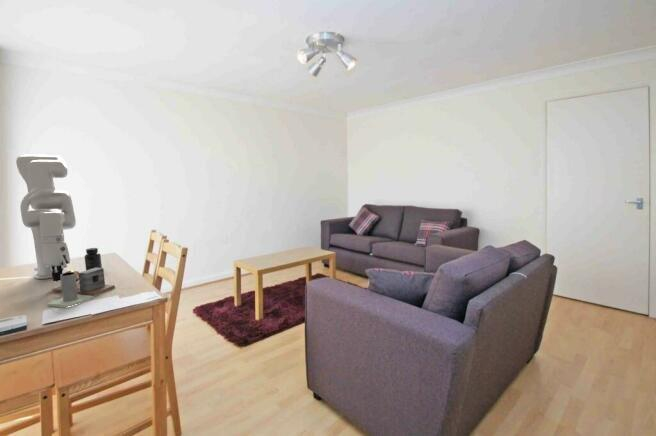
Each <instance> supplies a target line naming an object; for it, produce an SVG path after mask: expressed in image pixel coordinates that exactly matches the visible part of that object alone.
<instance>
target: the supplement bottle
mask: <svg viewBox="0 0 656 436" xmlns="http://www.w3.org/2000/svg"><path fill="white" fill-rule="evenodd" d="M83 259H84V264H85V265H84V266H85V271H86V270H90V269H93V268H103V266H102V265H103V264H102V256H101V253H99V250H98V247H90V248H86V249H85V255H84V258H83Z"/></svg>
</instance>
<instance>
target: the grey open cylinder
mask: <svg viewBox="0 0 656 436" xmlns="http://www.w3.org/2000/svg"><path fill="white" fill-rule="evenodd" d="M60 279H61V280H60V285H61V287H62V293H61V294H62V298H63V301H72V300H75V299H77V298H78V296H77V287H76V278H75V273H74V272H69V273H63V274H61V275H60Z"/></svg>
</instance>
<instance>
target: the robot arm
mask: <svg viewBox="0 0 656 436" xmlns="http://www.w3.org/2000/svg"><path fill="white" fill-rule="evenodd" d="M15 160H16V166H17V167H16V168H17V170H18V173H19V175H20V176H21V177H22V179H23V180H24V182H25V185H26V188H27V193H26V195H24V197H23V198H22V200H21V202H20V206H19V207H20V214H21V221H22V224H23V225H24V226H25V228H28V229H31V234H32V237H33V245H34V250H35V257H36V266H37V267H35V268H34V272H37V273H36V274H34V275H33V276H34V279H36V280H45V279H46V280H47V279H52V281H53V282H59V281H60V282H61V279H60V275H61V274H63V273H66V272H67V271H68V270H67V269H66V268H68V265H67V264H70V263H71V257H70V253H69V252H70V251H69V248H68V245H67V243H66V241H65V235H64V230H71V229H74V228H75V227H76V225H77V220H76V216H75V215H76V214H75V211H74V204H73V200H72V197H71V195H70V193H69V192H68V191H65V190H56V187H55V183H54V179H64V178H66V177H68V167H67V164H66V162H65V160H64V159H63V158H62V156H61V155H52V154H51V155H48V154H23V155H20V156H18V157H16V159H15ZM30 207H31V209H32V210H30Z"/></svg>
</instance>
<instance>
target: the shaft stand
mask: <svg viewBox="0 0 656 436" xmlns="http://www.w3.org/2000/svg"><path fill="white" fill-rule="evenodd" d="M78 275H79V280H78V281H77V282H76V287H77V294H78V295H88V296H93V297H96V296H97V295H100V294H103V293H106V292H109V291H111V290H113V289H115V286H116V285H114V284H106V280H105V271H104V268H103V267H102V268H93V269H90V270H86V269H85V270H84V271H79V273H78ZM92 277H93V278H92ZM51 292H52V293H58V294H60V293H61V294H62V287H61V286H58V287H54V288H51Z"/></svg>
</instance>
